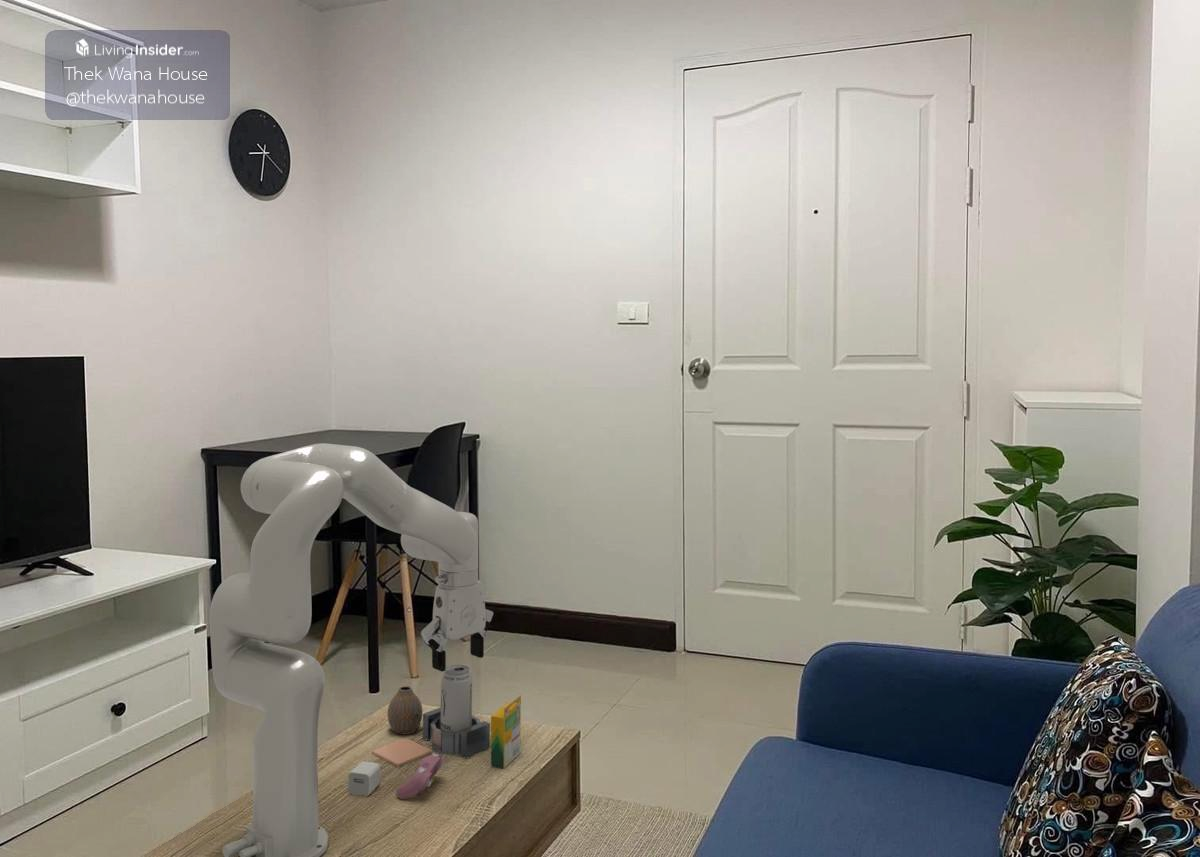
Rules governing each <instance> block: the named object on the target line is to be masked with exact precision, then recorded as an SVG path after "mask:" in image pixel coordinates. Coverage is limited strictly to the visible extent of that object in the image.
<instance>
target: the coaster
mask: <svg viewBox="0 0 1200 857" xmlns="http://www.w3.org/2000/svg"><path fill="white" fill-rule="evenodd" d="M371 754H372V755H373V756H376V757H378V758H379V759H382V760H383V761H385V760H386V761H385V762H387V763H389V762H390V764H391V763H392V765H394V766H395V765H396V766H395V767H396V768H398V767H401V766H403V765H406V764H408V763H411V762H413V761H416V760H418V759H421V758H423V757H427V756H429V755H431V754H433V749H430V748H428V747H426V746H424V745H422V744H419V743H417V742H414V741H413V740H411V739H408V738H406V737H405V738H403V739H399V740H397V741H394V742H391V743H389V744H386V745H383V746H382V747H378V748H375V749H373V750H371Z"/></svg>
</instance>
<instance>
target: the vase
mask: <svg viewBox="0 0 1200 857" xmlns="http://www.w3.org/2000/svg"><path fill="white" fill-rule="evenodd" d="M412 688H413V687H411V686H409V685H402V686H400V687H399V688H398V691H397V692H396V693H395V695H394V696H393V697H392V699H391V701H390V702H389V705H388V709H387V722H388V724H389V727H390V728H391V729H392V731H394V732H395V733H397V734H401V735H408V733H409V734H412V733H414V732H415V731H416V730H418V728H419V727H420V725H421V723H422V721H423V714H424V712H423V706H422V702H421V700H420V698H419V697H418V696H417V694H416V693H414V691H413V689H412Z"/></svg>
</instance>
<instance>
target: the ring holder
mask: <svg viewBox="0 0 1200 857" xmlns="http://www.w3.org/2000/svg"><path fill="white" fill-rule="evenodd" d="M440 722H441V706H440V707H438V708H436V709H435V708H434V709H431V710H430V711H427V712H423V715H422V739H424V740H426V739H427V740H426V741H429V743H430V746H431V750H434V751H436V752H439V753H440V754H445V753H446V754H447V755H460V756H461V757H462V758H464V757H465V758H464V759H468V758H470V757H472V755H473V756H475V755H477V754H480V753H482V752H485V751H487V750H489V749H491V722H488V721H481V719H480V718H479V717H477V716H474V715H472V726H471V727H468V728H466V729H463V730H461V732H445V731H442V730H440ZM488 748H489V749H488ZM486 749H487V750H486ZM481 751H482V752H481ZM479 752H480V753H479ZM476 753H477V754H476ZM474 754H475V755H474ZM467 757H468V758H467Z"/></svg>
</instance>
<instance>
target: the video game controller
mask: <svg viewBox="0 0 1200 857" xmlns="http://www.w3.org/2000/svg"><path fill="white" fill-rule="evenodd" d="M444 761H445V757H443V756H442V755H440V754H439V753H435V752H433V751H432V753H431V754H428V755H426V756H424V758H422V759H421V761H420V763H419V764H417V766H416V767H415V770H414V773H413V775H412V776H411V777H410V778H409V779H408V780H406V781H405V782H403V783H402V784H400V786H398V788H397V789H396V792H395V793H396V794H395V795H396V796H397V798H398V799H400V800H406V799H410V798H412V797H414V796H415V795H417V794H419V795H422V793H423V792H424V791H425V789H426V787H427V788H429V787H431V785H432V783H433V782H434V780H435V779H434V777H435V776H436V774H437V772H438V771H440V770H441V767H443V766H442V765H443V763H444Z"/></svg>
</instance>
